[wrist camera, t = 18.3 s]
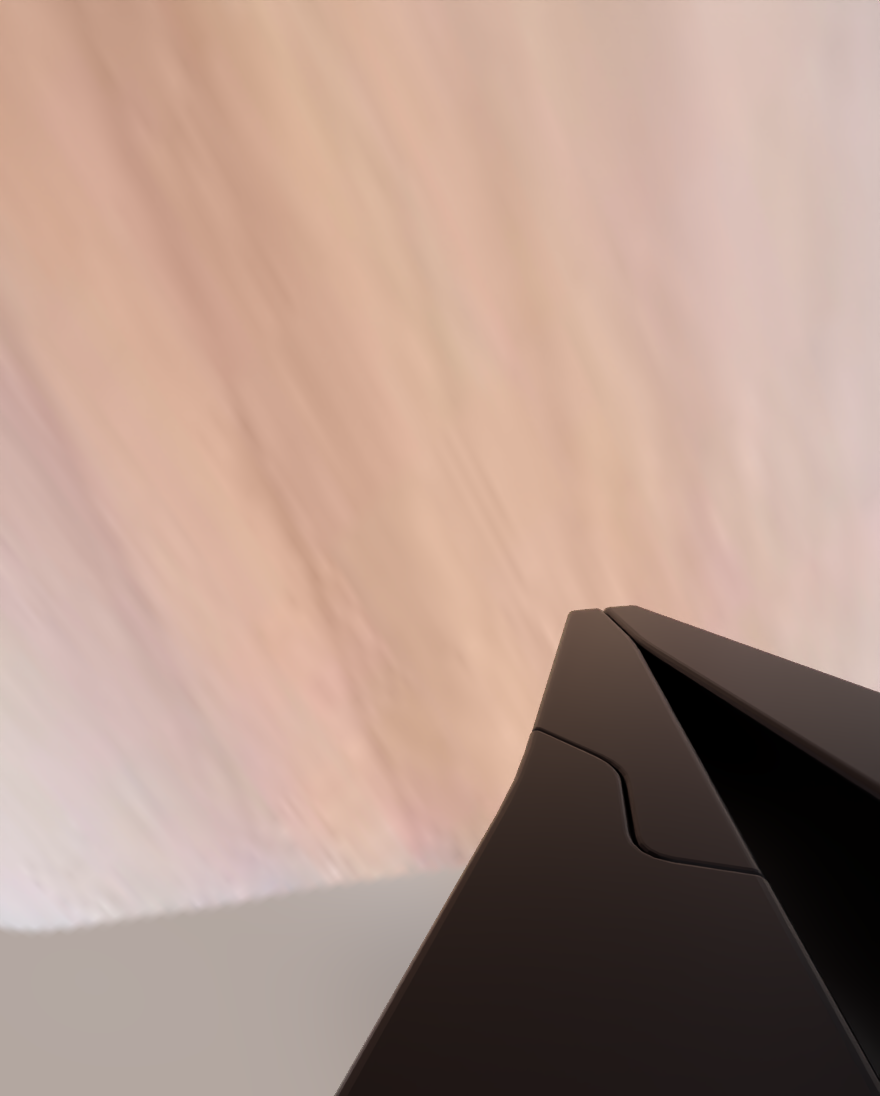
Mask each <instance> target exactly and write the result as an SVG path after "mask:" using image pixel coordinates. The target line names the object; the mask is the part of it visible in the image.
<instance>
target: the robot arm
mask: <svg viewBox="0 0 880 1096" xmlns="http://www.w3.org/2000/svg"><path fill="white" fill-rule="evenodd" d="M334 1096H880V693H879V692H877V691H874V690H871V689H868V688H865V687H863V686H860V685H857V684H854V683H851V682H849V681H846V680H843V679H840V678H837V677H835V676H832V675H829V674H826V673H823V672H821V671H818V670H815V669H812V668H809V667H807V666H804V665H801V664H798V663H795V662H793V661H790V660H787V659H784V658H781V657H779V656H776V655H773V654H770V653H767V652H765V651H762V650H759V649H756V648H753V647H750V646H748V645H745V644H742V643H739V642H736V641H734V640H731V639H728V638H725V637H722V636H720V635H717V634H714V633H711V632H708V631H706V630H703V629H700V628H697V627H694V626H692V625H689V624H686V623H683V622H680V621H678V620H675V619H672V618H669V617H666V616H664V615H661V614H658V613H655V612H652V611H650V610H647V609H644V608H641V607H638V606H633V605H629V606H618V607H609V608H606V609H605V610H604V611H602V610H600V609H597V608H596V609H585V610H574V611H571V612H570V613H569V614H568V617H567V620H566V623H565V627H564V630H563V633H562V636H561V640H560V643H559V646H558V649H557V652H556V656H555V659H554V662H553V665H552V669H551V672H550V675H549V678H548V681H547V685H546V688H545V691H544V694H543V698H542V701H541V704H540V707H539V711H538V714H537V717H536V720H535V723H534V727H533V730H532V733H531V734H530V737H529V740H528V743H527V746H526V750H525V753H524V755H523V758H522V760H521V763H520V766H519V768H518V771H517V773H516V776H515V779H514V781H513V783H512V785H511V787H510V789H509V791H508V793H507V795H506V797H505V799H504V801H503V803H502V805H501V807H500V809H499V810H498V812H497V814H496V816H495V818H494V820H493V821H492V823H491V825H490V826H489V828H488V830H487V832H486V833H485V835H484V837H483V839H482V840H481V842H480V844H479V846H478V847H477V849H476V851H475V852H474V854H473V856H472V858H471V859H470V861H469V863H468V865H467V866H466V868H465V870H464V872H463V873H462V875H461V877H460V879H459V880H458V882H457V884H456V885H455V887H454V889H453V891H452V892H451V894H450V896H449V898H448V899H447V901H446V903H445V905H444V906H443V908H442V910H441V911H440V913H439V915H438V917H437V918H436V920H435V922H434V924H433V926H432V927H431V929H430V931H429V933H428V934H427V936H426V937H425V939H424V941H423V943H422V944H421V946H420V948H419V950H418V951H417V953H416V955H415V957H414V958H413V960H412V962H411V964H410V965H409V967H408V969H407V971H406V972H405V974H404V976H403V977H402V979H401V981H400V983H399V985H398V986H397V988H396V990H395V991H394V993H393V995H392V997H391V998H390V1000H389V1002H388V1003H387V1005H386V1007H385V1009H384V1010H383V1012H382V1014H381V1016H380V1018H379V1019H378V1021H377V1022H376V1024H375V1026H374V1028H373V1029H372V1031H371V1033H370V1035H369V1037H368V1038H367V1040H366V1042H365V1043H364V1045H363V1047H362V1049H361V1050H360V1052H359V1054H358V1055H357V1057H356V1059H355V1061H354V1062H353V1064H352V1066H351V1068H350V1070H349V1071H348V1073H347V1075H346V1076H345V1078H344V1080H343V1081H342V1083H341V1085H340V1087H339V1088H338V1090H337V1092H336V1094H335V1095H334Z"/></svg>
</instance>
